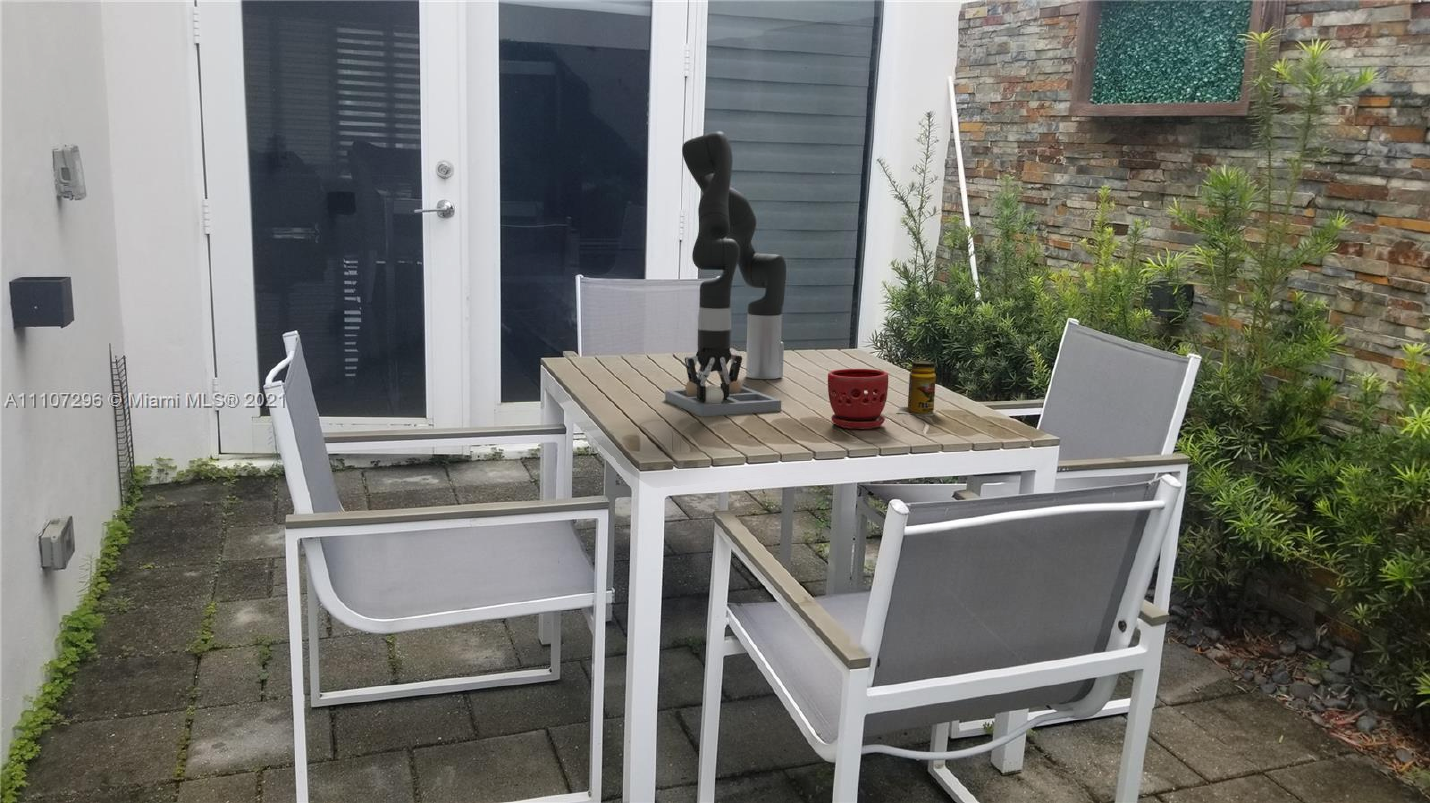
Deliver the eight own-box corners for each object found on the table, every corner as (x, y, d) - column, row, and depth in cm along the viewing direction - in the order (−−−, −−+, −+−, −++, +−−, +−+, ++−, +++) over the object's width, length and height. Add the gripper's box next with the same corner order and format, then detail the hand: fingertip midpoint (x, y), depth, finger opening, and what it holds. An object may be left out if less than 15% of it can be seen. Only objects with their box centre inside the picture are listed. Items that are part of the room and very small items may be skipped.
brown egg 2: (735, 394, 273) (736, 373, 272) (745, 397, 269) (745, 377, 268) (717, 395, 271) (717, 374, 270) (726, 398, 266) (726, 378, 266)
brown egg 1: (700, 396, 269) (700, 375, 268) (709, 400, 265) (709, 379, 264) (681, 397, 267) (681, 377, 266) (690, 401, 262) (690, 380, 261)
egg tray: (740, 395, 277) (741, 385, 277) (781, 410, 259) (781, 400, 259) (664, 400, 268) (665, 390, 268) (701, 416, 250) (701, 406, 250)
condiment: (933, 416, 257) (936, 365, 255) (896, 413, 259) (899, 362, 257) (936, 410, 264) (939, 360, 261) (900, 407, 266) (903, 358, 264)
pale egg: (717, 403, 261) (718, 382, 260) (727, 407, 256) (727, 386, 255) (698, 404, 258) (698, 383, 257) (707, 409, 254) (708, 387, 253)
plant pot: (875, 419, 252) (877, 366, 250) (894, 431, 240) (897, 376, 237) (819, 419, 250) (821, 367, 248) (835, 432, 237) (837, 377, 235)
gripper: (735, 324, 260) (733, 395, 263) (678, 326, 254) (677, 399, 257) (750, 328, 254) (747, 401, 257) (692, 330, 247) (691, 405, 251)
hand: (712, 400), depth 257 cm, fingers closed on pale egg, 5 cm apart
